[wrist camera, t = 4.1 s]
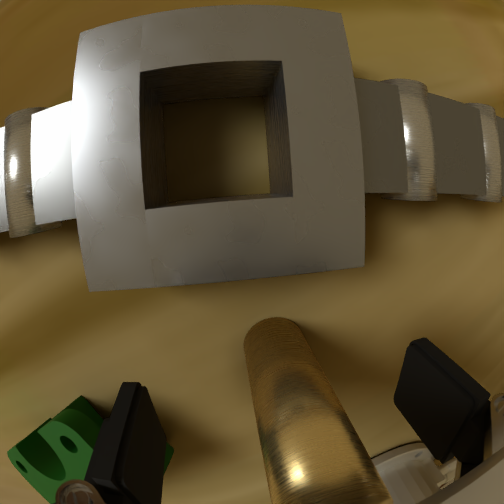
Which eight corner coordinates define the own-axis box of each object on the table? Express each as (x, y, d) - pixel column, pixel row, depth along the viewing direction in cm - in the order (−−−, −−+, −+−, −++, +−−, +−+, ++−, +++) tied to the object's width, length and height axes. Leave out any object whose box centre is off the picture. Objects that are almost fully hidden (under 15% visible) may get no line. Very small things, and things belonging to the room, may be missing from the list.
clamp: (119, 364, 18) (85, 396, 10) (172, 424, 18) (176, 486, 10) (27, 434, 14) (-24, 476, 6) (75, 486, 14) (47, 545, 6)
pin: (302, 313, 14) (408, 482, 4) (302, 363, 14) (377, 524, 5) (241, 320, 14) (279, 521, 4) (246, 370, 14) (278, 550, 4)
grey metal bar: (475, 93, 12) (518, 83, 8) (484, 229, 14) (529, 241, 10) (-40, 133, 9) (-81, 130, 5) (-29, 275, 11) (-68, 295, 7)
